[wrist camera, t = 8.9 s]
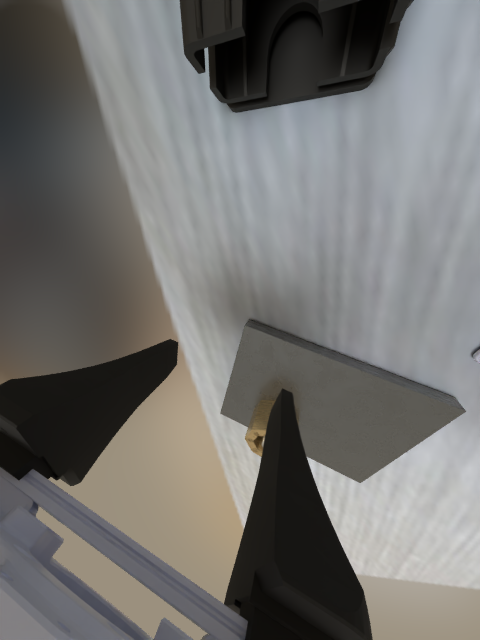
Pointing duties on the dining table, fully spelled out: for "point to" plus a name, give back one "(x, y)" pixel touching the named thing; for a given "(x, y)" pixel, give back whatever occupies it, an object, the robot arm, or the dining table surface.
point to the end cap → (288, 46)
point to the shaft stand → (335, 401)
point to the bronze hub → (259, 425)
